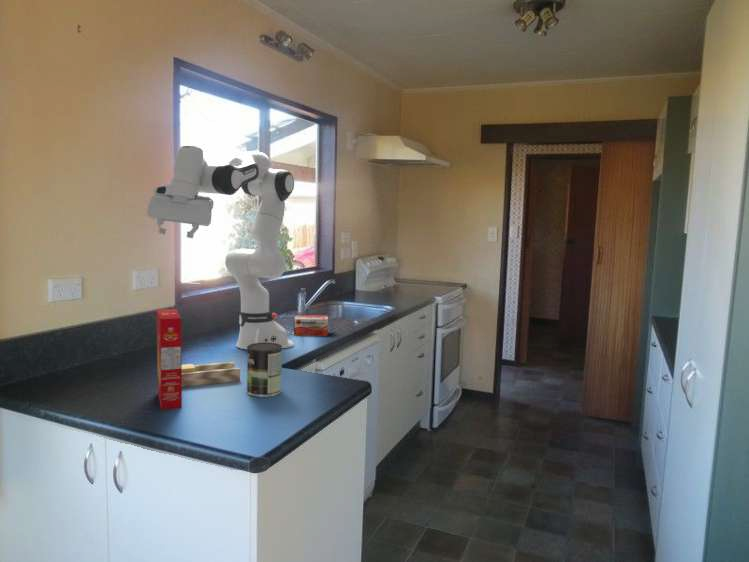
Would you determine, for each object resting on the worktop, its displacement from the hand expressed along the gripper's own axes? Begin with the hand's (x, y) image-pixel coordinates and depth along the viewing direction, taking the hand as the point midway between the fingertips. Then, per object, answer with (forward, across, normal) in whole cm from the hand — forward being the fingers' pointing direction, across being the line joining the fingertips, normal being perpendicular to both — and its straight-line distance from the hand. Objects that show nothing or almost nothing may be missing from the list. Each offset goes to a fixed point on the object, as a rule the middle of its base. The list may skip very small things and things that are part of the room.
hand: (175, 235), depth 181 cm
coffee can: (+44, -37, +1) cm, 57 cm away
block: (+45, -10, -4) cm, 46 cm away
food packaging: (+49, -14, +13) cm, 53 cm away
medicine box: (+25, -32, -82) cm, 91 cm away
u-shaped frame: (+44, -16, -7) cm, 47 cm away
